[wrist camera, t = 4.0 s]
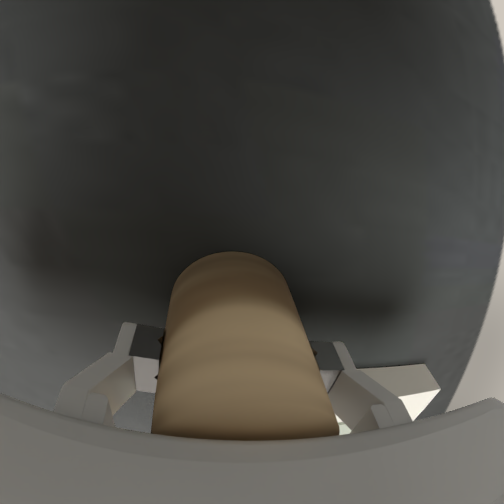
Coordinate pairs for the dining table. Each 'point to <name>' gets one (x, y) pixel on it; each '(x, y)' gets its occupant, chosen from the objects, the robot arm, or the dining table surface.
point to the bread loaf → (238, 357)
